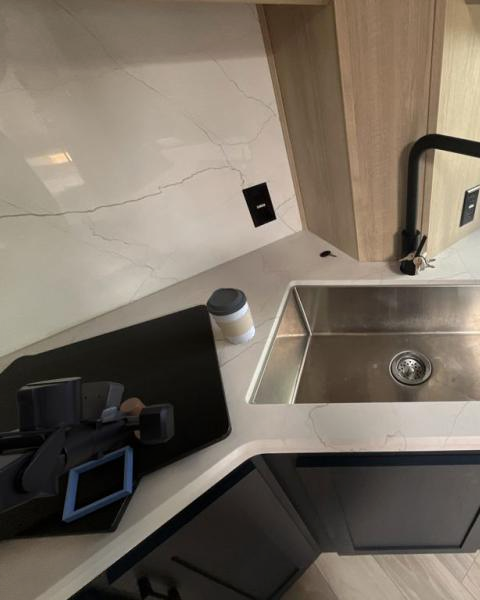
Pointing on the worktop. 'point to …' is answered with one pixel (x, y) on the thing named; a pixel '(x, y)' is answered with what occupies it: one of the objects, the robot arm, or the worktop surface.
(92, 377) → the worktop surface
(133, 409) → the dish brush
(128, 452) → the blue square frame
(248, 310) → the coffee cup
